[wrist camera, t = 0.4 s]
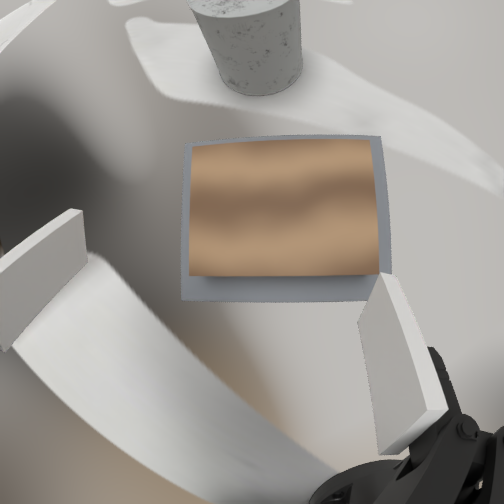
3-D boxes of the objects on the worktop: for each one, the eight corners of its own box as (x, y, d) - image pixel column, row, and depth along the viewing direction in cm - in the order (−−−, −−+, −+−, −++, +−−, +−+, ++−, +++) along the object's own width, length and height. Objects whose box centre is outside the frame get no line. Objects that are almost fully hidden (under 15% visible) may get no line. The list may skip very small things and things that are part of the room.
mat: (390, 299, 26) (391, 299, 26) (182, 300, 29) (181, 300, 29) (379, 137, 27) (380, 136, 27) (186, 144, 30) (185, 143, 30)
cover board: (366, 273, 26) (379, 274, 22) (205, 275, 29) (189, 276, 24) (359, 158, 27) (369, 139, 22) (207, 163, 29) (192, 146, 25)
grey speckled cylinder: (206, 57, 31) (172, -13, 18) (275, 26, 30) (263, -48, 17) (242, 110, 29) (212, 34, 17) (319, 74, 28) (323, -7, 16)
